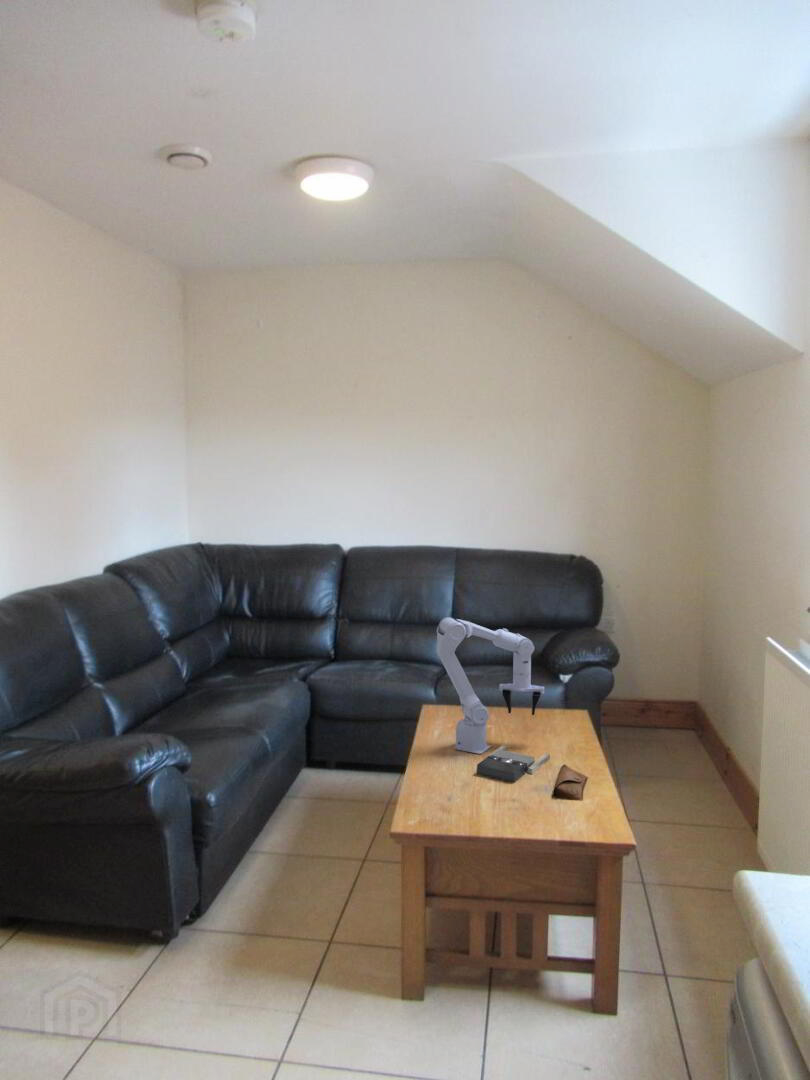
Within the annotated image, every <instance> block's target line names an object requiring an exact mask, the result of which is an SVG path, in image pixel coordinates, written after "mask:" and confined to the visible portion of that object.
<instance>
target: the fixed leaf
mask: <svg viewBox="0 0 810 1080" xmlns="http://www.w3.org/2000/svg"><path fill="white" fill-rule="evenodd" d="M487 756H488V757H487ZM487 756H486V757H487V758H486V757H485V759H483V760H481V761H480V762H479V763H477V764H476V774H477V775H479V776H483V777H487V778H491V779H494V780H495V779H496V780H501V781H505V782H509V783H512V784H514V783H516V782H517V781H518V780H520V778H522V777H523V776H524V775H525V774H526V769H527V765H526V764H525V763H521V762H516V761H514V762H513V763H512V764H511V763H506V762H501V761H500V760H501V759H500V758H497V757H493V756H489V755H487Z"/></svg>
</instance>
